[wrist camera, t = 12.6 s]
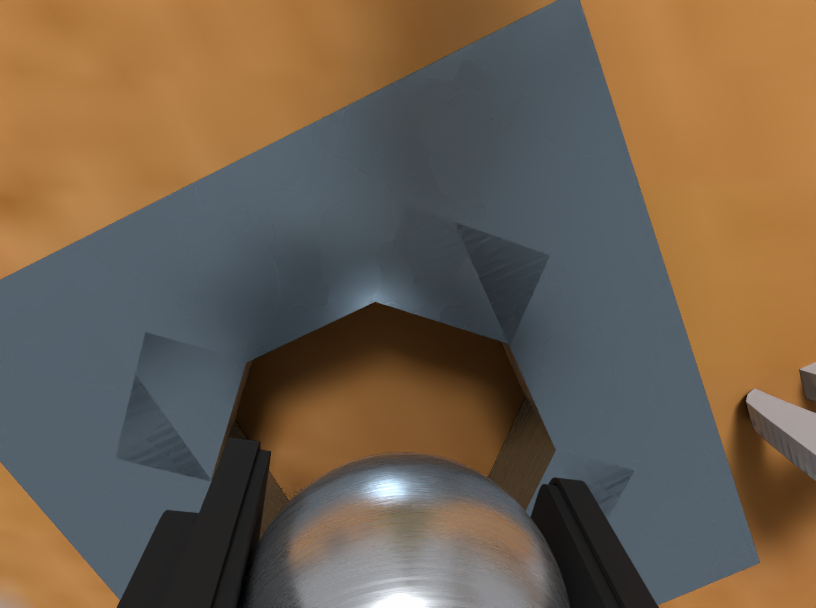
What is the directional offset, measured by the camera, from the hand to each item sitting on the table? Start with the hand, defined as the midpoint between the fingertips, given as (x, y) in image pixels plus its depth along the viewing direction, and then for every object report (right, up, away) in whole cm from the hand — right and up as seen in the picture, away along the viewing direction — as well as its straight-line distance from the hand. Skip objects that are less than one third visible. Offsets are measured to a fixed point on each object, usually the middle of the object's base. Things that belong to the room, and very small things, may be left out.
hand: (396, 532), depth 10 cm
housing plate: (-1, +1, +5) cm, 5 cm away
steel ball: (0, -1, -2) cm, 2 cm away
